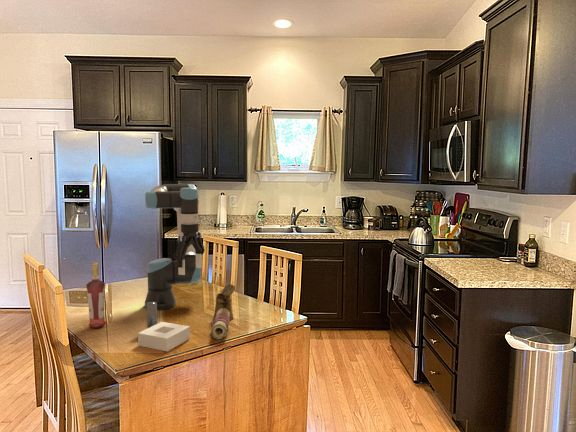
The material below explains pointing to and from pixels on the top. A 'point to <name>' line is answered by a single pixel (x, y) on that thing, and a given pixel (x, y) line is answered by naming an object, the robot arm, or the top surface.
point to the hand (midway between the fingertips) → (190, 271)
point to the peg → (151, 314)
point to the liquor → (96, 299)
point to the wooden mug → (224, 300)
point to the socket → (164, 336)
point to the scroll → (220, 323)
